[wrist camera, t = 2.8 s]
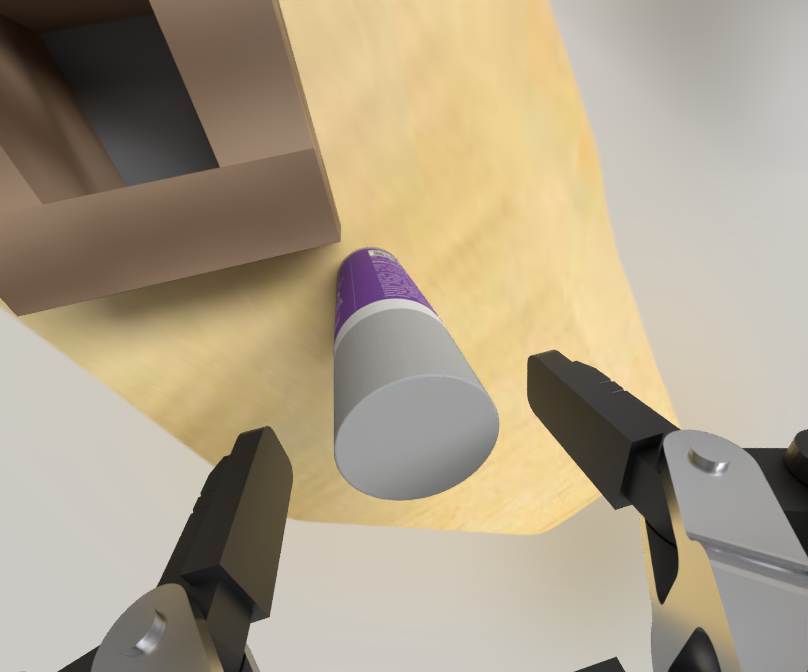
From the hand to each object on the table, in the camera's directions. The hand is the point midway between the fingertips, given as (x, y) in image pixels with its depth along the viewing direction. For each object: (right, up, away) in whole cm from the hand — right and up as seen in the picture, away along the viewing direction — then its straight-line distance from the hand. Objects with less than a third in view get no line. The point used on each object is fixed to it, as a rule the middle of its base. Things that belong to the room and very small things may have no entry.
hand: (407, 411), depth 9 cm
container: (-2, +6, +12) cm, 14 cm away
